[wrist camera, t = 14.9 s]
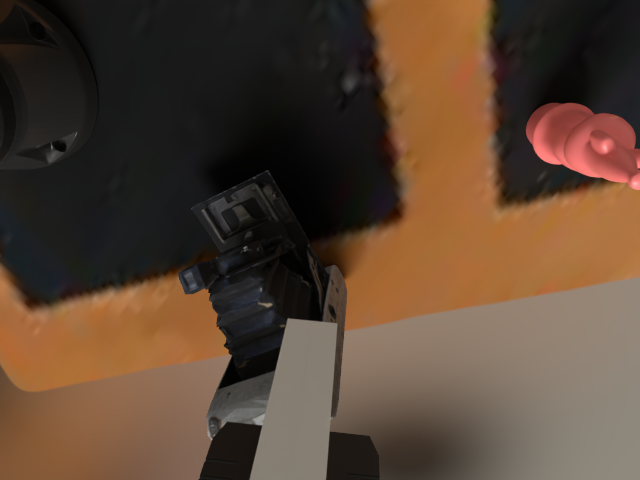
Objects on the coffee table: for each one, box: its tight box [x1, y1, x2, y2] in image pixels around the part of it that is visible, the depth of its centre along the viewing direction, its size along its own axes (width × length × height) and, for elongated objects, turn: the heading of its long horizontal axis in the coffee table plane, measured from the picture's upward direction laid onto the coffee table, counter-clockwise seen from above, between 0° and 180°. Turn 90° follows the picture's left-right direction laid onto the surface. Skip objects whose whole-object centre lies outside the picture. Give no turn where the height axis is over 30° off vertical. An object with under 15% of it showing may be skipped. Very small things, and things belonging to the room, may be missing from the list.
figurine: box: [526, 103, 640, 190], centre depth 33 cm, size 5×5×15 cm
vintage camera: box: [178, 170, 347, 440], centre depth 38 cm, size 10×16×20 cm, turn 27°
